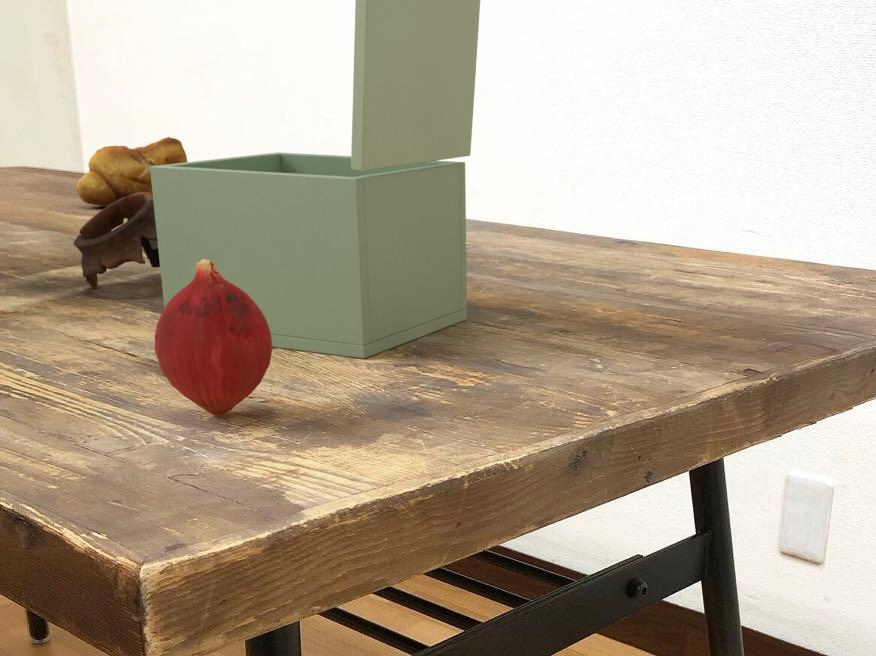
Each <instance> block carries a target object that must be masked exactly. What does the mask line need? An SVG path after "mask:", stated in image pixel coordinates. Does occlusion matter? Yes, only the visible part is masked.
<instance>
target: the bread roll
mask: <svg viewBox="0 0 876 656" xmlns="http://www.w3.org/2000/svg"><path fill="white" fill-rule="evenodd" d="M185 162H188V157H187V153H186V151H185V149H184V146H183V143H182V141H181V140H179V139H178V138H175V137H170V136H167V137H164V138H161V139H159V140H157V141H154V142H151V143H148V144H147V145H145V146H137V147H134V148H130V147H128V146H126V145H108V146H103V147H101V148H100V149H97V150H95V153H93V155H92V156H91V157H90V159H89V161H88V168H89V170H88V172H86V173H85V174H84V175H82V176H81V177H80V178H79V179H78V181H77V184H76V193H77V195H78V197H79V198H80V200H82V201H83V202H84V203H86V204H88V205H93V206H99V207H100V206H101V207H107V206H108V205H109V204H111V203H113V202H116V201H117V200H119V199H121V198H123V197H127V196H129V195H132V194H135V193H139V192H149V193H152V194H153V191H152V181H151V172H150V167H151V166H158V165H167V164H176V163H185Z"/></svg>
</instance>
